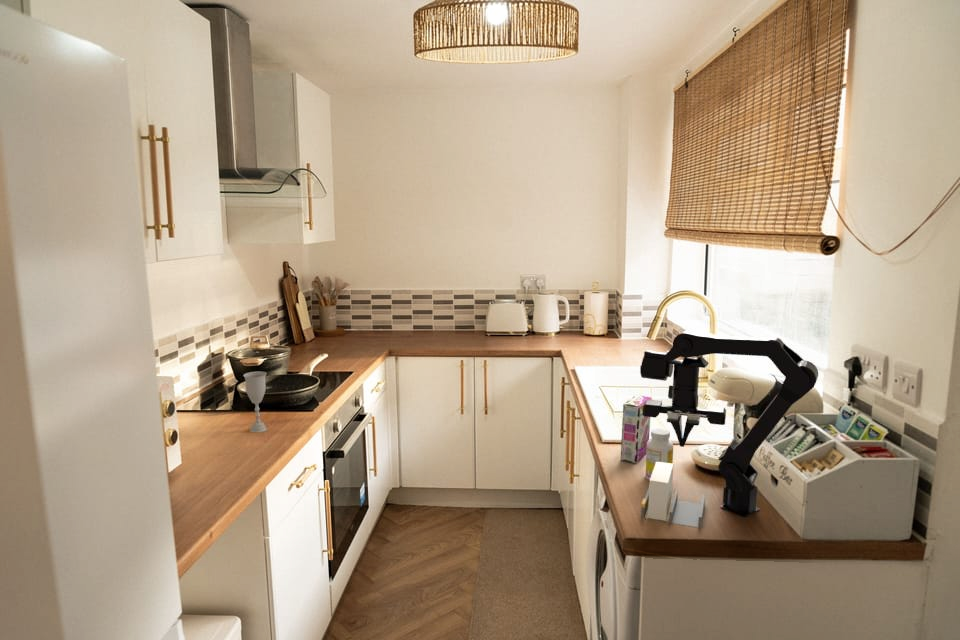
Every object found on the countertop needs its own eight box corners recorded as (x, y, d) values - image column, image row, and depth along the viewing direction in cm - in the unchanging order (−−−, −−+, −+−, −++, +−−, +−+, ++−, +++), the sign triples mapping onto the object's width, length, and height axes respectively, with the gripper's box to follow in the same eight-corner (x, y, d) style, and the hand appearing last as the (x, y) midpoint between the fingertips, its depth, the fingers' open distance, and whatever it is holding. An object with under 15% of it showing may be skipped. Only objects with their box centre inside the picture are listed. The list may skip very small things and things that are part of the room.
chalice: (262, 434, 210) (259, 377, 207) (242, 433, 211) (238, 376, 208) (273, 426, 217) (270, 371, 214) (253, 425, 218) (250, 371, 215)
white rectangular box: (671, 499, 164) (673, 463, 162) (666, 520, 153) (668, 482, 151) (654, 496, 165) (656, 461, 164) (647, 517, 154) (649, 480, 153)
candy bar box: (637, 464, 186) (639, 406, 184) (619, 461, 189) (622, 403, 186) (649, 451, 196) (652, 396, 193) (632, 448, 198) (635, 394, 196)
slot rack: (704, 505, 161) (705, 491, 161) (700, 529, 150) (701, 513, 149) (648, 496, 166) (648, 483, 165) (640, 519, 154) (641, 504, 154)
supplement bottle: (667, 473, 180) (669, 427, 178) (675, 484, 174) (677, 435, 171) (642, 474, 180) (644, 427, 178) (649, 484, 173) (651, 436, 171)
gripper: (728, 378, 165) (724, 440, 168) (649, 371, 172) (647, 431, 174) (727, 390, 155) (722, 455, 158) (643, 382, 162) (640, 445, 164)
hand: (682, 446), depth 164 cm, fingers closed
